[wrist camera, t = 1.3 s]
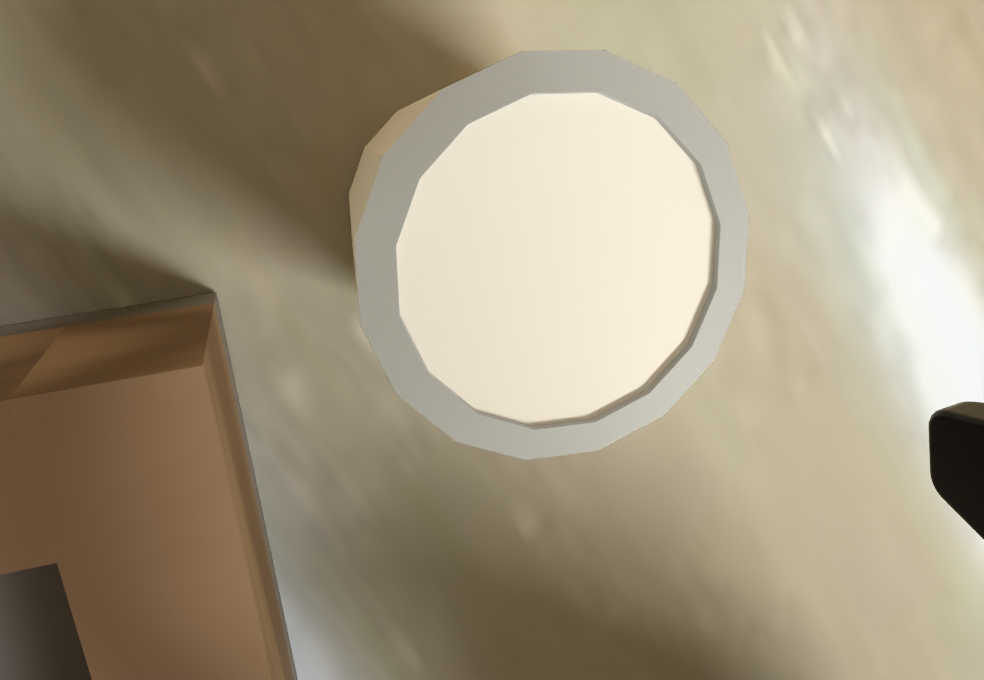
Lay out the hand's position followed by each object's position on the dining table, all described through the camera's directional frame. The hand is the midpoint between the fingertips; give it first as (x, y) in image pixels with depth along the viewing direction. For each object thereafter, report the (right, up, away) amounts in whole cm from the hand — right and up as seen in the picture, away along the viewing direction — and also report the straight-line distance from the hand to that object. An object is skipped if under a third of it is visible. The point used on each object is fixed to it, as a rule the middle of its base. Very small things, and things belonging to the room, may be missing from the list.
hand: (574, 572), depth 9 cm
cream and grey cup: (-1, +6, +11) cm, 13 cm away
